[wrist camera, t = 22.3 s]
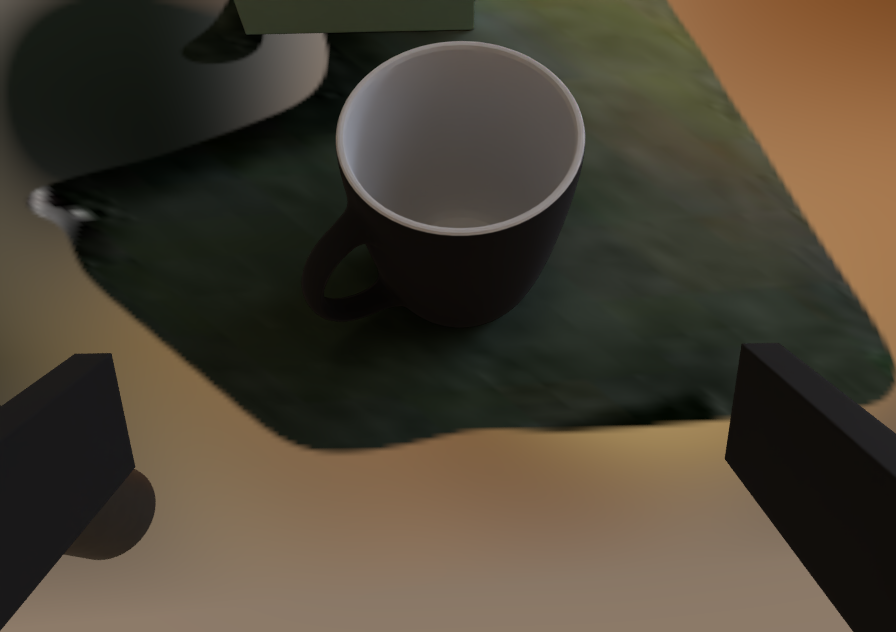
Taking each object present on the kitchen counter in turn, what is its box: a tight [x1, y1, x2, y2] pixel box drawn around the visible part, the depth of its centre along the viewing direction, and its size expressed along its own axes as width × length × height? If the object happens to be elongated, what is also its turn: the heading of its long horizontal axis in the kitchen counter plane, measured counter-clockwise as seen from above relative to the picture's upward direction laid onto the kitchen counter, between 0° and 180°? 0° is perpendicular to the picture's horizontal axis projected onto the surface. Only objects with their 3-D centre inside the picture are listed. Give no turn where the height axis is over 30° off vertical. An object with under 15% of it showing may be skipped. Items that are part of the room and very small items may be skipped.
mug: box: [301, 41, 585, 328], centre depth 27 cm, size 12×9×10 cm
